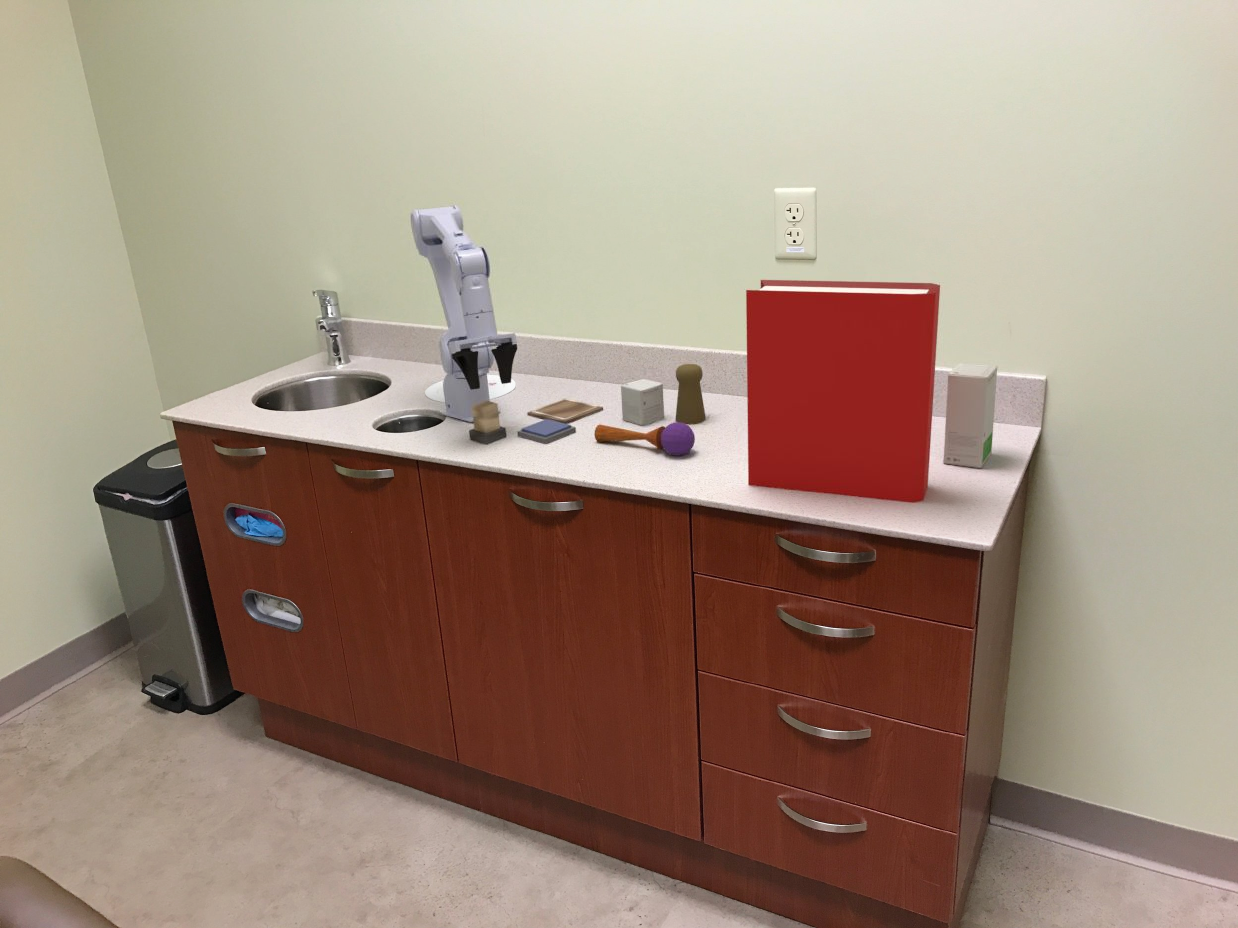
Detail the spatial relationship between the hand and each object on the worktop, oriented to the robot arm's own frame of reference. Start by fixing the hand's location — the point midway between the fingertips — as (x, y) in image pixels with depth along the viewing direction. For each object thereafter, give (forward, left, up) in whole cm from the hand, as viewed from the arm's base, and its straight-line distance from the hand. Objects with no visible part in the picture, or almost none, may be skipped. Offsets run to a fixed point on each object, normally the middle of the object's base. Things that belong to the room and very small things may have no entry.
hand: (491, 386), depth 182 cm
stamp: (-2, -1, -11) cm, 11 cm away
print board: (0, +19, -11) cm, 22 cm away
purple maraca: (+27, +12, -11) cm, 32 cm away
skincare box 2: (+76, +38, -11) cm, 86 cm away
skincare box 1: (+16, +24, -11) cm, 31 cm away
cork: (+24, +29, -11) cm, 40 cm away
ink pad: (+6, +7, -11) cm, 14 cm away
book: (+64, +17, -11) cm, 67 cm away
